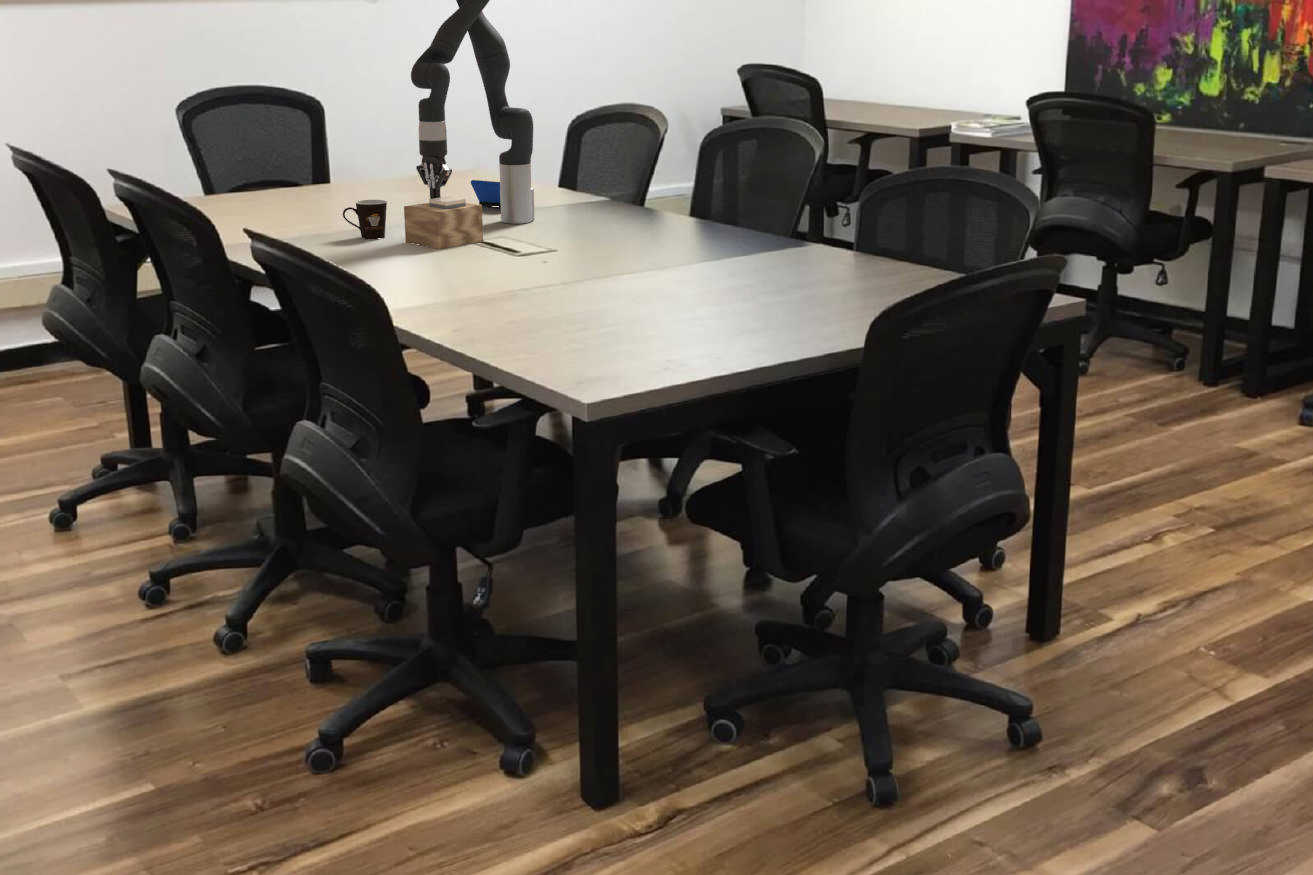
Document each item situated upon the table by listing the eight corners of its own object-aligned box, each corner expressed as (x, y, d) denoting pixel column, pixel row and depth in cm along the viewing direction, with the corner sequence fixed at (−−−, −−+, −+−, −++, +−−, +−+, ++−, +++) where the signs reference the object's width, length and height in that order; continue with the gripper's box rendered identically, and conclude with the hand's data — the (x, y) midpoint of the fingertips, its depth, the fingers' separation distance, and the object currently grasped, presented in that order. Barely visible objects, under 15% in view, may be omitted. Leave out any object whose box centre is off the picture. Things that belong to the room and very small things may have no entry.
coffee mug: (392, 235, 421) (390, 199, 418) (384, 240, 413) (382, 204, 410) (352, 234, 422) (350, 199, 419) (343, 239, 414) (340, 203, 411)
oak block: (449, 234, 421) (448, 199, 418) (483, 240, 413) (481, 204, 409) (405, 242, 410) (403, 206, 407) (439, 248, 401) (437, 212, 398)
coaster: (448, 203, 412) (448, 196, 411) (465, 206, 407) (465, 198, 407) (429, 206, 407) (429, 199, 406) (446, 209, 402) (445, 201, 402)
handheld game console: (535, 207, 470) (535, 177, 467) (510, 213, 459) (509, 183, 456) (496, 203, 478) (495, 174, 475) (470, 208, 467) (469, 179, 464)
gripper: (459, 138, 403) (461, 202, 408) (427, 134, 411) (430, 197, 417) (437, 140, 397) (440, 205, 403) (406, 136, 406) (409, 200, 411)
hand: (435, 201), depth 410 cm, fingers closed
